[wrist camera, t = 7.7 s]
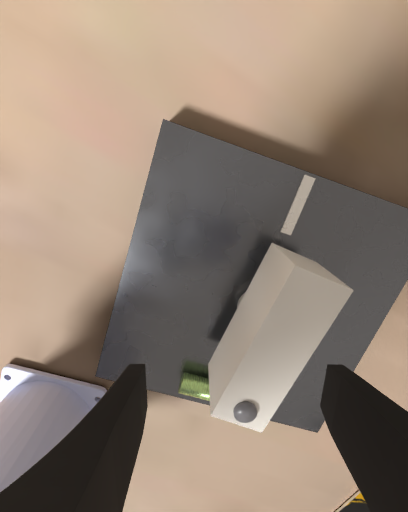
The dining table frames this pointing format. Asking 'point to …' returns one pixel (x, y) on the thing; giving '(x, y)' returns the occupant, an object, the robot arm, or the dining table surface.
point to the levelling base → (244, 264)
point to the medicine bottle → (354, 504)
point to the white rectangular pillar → (272, 336)
